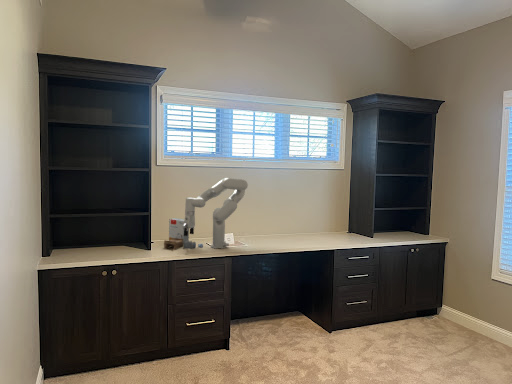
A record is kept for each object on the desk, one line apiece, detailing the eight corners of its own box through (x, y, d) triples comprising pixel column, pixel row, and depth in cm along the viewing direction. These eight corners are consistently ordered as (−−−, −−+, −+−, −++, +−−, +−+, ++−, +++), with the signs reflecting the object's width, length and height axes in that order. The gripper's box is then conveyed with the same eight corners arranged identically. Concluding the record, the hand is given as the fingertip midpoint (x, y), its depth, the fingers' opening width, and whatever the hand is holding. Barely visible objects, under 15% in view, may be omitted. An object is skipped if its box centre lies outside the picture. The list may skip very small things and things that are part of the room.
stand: (183, 246, 306) (183, 238, 306) (175, 249, 295) (175, 241, 294) (172, 245, 309) (172, 237, 309) (164, 248, 298) (164, 240, 297)
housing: (195, 248, 303) (195, 241, 303) (192, 249, 298) (192, 242, 297) (186, 247, 305) (186, 240, 305) (183, 248, 300) (183, 241, 300)
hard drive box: (168, 242, 319) (168, 218, 318) (174, 241, 326) (174, 217, 325) (183, 245, 312) (183, 220, 311) (189, 243, 319) (189, 219, 318)
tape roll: (203, 246, 308) (203, 244, 307) (201, 247, 304) (201, 244, 304) (199, 246, 309) (199, 243, 308) (197, 247, 305) (197, 244, 305)
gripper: (188, 214, 290) (187, 237, 291) (199, 212, 307) (198, 233, 308) (180, 213, 292) (178, 236, 294) (190, 211, 309) (189, 232, 310)
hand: (188, 234), depth 301 cm, fingers open, 9 cm apart
